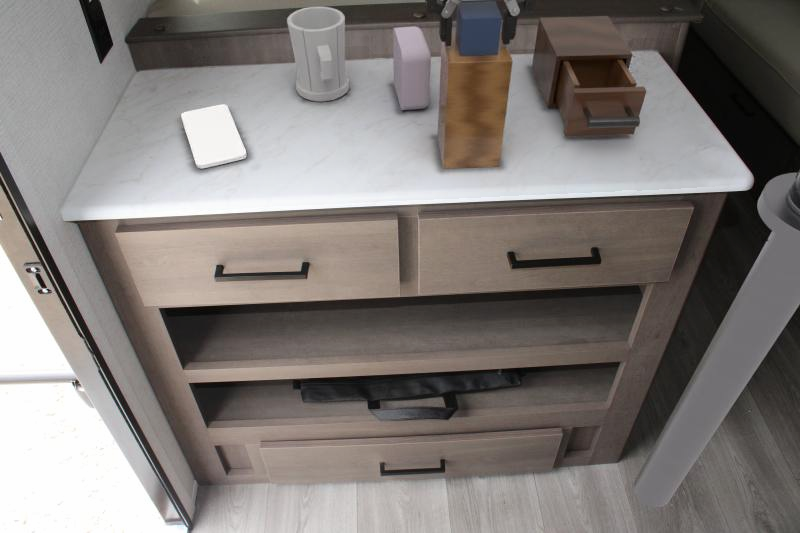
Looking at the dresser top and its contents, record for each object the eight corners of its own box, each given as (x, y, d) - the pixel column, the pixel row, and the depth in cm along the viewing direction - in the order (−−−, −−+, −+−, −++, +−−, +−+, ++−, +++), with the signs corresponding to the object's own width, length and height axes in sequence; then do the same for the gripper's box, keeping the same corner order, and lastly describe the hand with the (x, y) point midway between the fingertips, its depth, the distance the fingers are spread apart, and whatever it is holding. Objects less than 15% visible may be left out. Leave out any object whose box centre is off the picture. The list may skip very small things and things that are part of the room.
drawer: (642, 151, 90) (656, 106, 85) (571, 153, 90) (581, 108, 85) (610, 91, 102) (621, 49, 97) (547, 93, 102) (555, 51, 97)
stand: (490, 135, 95) (501, 32, 84) (499, 166, 89) (512, 60, 78) (437, 137, 95) (441, 33, 83) (443, 168, 89) (448, 62, 78)
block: (491, 37, 83) (495, 0, 79) (497, 55, 79) (502, 17, 76) (455, 38, 82) (457, 2, 79) (459, 56, 79) (462, 18, 76)
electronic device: (431, 111, 100) (433, 51, 93) (402, 114, 99) (402, 54, 92) (421, 80, 107) (422, 22, 100) (393, 82, 106) (393, 24, 99)
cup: (368, 90, 105) (365, 18, 96) (330, 113, 100) (323, 40, 91) (322, 70, 109) (315, 1, 101) (284, 91, 104) (273, 20, 96)
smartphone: (196, 166, 89) (179, 112, 98) (197, 170, 89) (181, 117, 99) (247, 154, 91) (226, 103, 100) (248, 158, 91) (227, 107, 101)
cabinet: (618, 106, 100) (632, 54, 94) (547, 108, 100) (556, 56, 94) (596, 66, 110) (608, 15, 104) (531, 68, 110) (539, 17, 103)
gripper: (425, -92, 66) (422, 58, 77) (562, -95, 66) (538, 54, 78) (420, -112, 71) (417, 31, 83) (546, -115, 72) (526, 28, 83)
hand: (476, 42), depth 80 cm, fingers open, 7 cm apart
